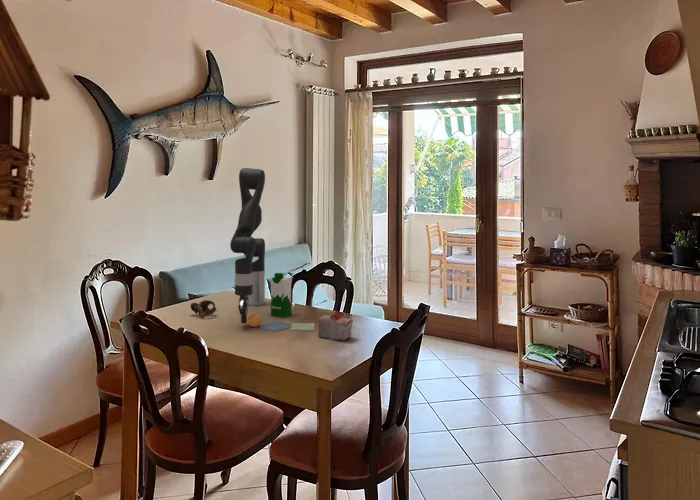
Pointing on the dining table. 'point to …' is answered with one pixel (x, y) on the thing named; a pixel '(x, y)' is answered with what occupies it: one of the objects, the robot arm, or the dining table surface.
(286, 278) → the milk carton
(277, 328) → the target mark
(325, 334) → the food item
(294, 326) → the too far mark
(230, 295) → the dining table surface
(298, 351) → the dining table surface
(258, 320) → the ball
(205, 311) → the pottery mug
